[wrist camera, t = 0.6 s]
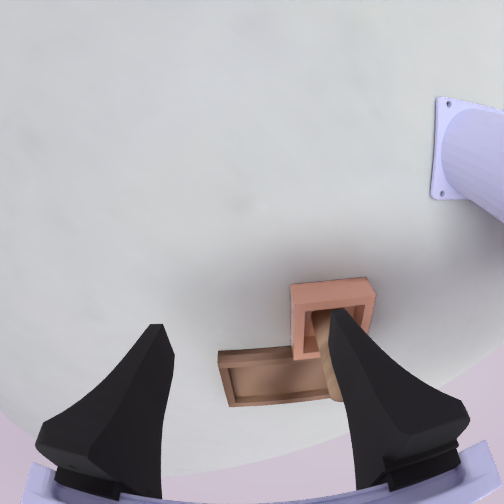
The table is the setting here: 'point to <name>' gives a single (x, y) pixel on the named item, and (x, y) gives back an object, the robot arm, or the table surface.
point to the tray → (270, 377)
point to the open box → (326, 297)
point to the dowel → (326, 349)
